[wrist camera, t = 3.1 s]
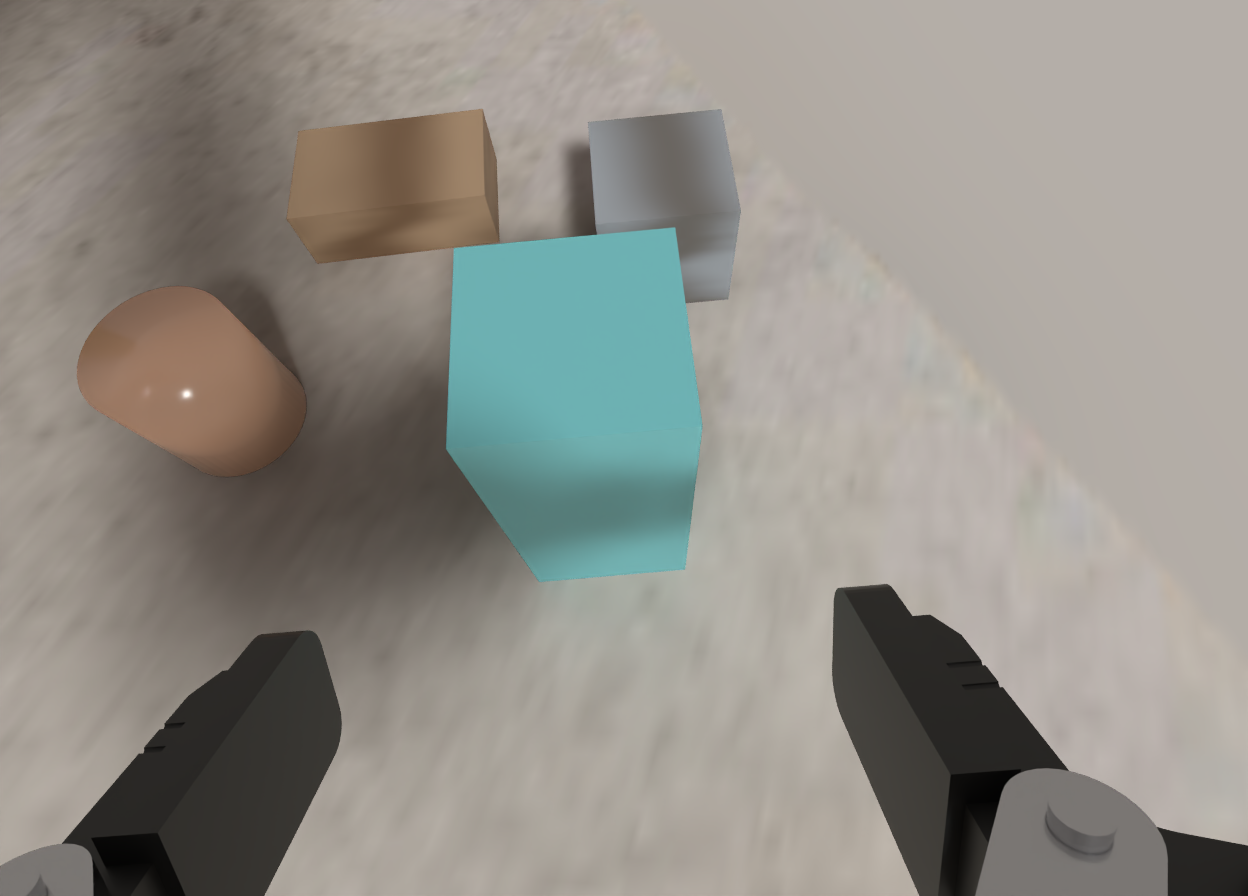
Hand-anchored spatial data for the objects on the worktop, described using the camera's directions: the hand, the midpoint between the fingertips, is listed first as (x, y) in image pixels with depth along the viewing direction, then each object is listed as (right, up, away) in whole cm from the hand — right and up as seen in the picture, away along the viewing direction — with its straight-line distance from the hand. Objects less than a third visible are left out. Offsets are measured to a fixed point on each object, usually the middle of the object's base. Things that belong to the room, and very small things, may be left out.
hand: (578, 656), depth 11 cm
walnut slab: (-9, +14, +20) cm, 26 cm away
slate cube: (+2, +11, +18) cm, 22 cm away
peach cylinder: (-14, +4, +16) cm, 22 cm away
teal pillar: (0, +1, +14) cm, 14 cm away
